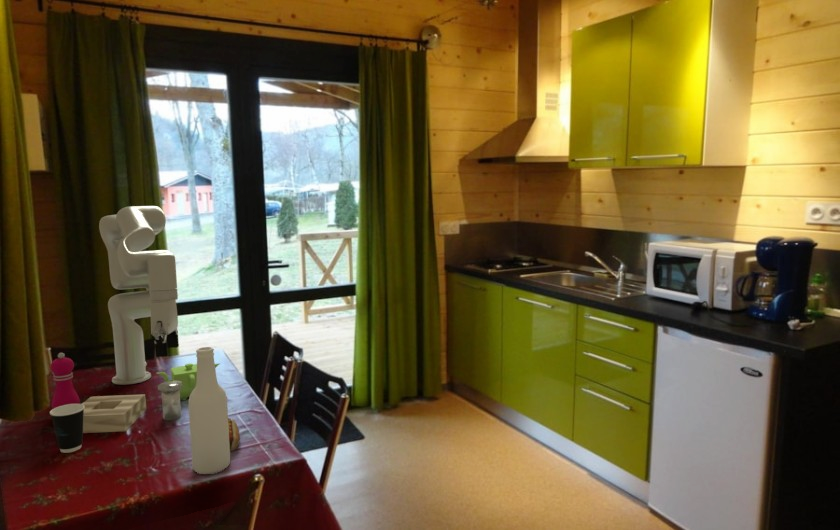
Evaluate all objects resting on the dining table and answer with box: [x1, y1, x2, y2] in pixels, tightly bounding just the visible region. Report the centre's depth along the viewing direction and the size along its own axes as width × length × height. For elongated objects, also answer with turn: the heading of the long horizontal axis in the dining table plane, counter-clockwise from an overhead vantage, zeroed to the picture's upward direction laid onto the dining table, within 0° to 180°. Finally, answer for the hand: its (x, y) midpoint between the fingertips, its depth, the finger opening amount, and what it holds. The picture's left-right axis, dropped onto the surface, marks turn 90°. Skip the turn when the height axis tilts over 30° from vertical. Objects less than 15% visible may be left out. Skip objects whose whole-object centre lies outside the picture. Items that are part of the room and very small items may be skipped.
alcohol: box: [188, 346, 231, 475], centre depth 140 cm, size 9×9×30 cm
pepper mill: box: [50, 352, 81, 409], centre depth 173 cm, size 7×7×20 cm
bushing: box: [157, 381, 183, 421], centre depth 173 cm, size 7×7×10 cm
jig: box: [81, 393, 147, 434], centre depth 170 cm, size 16×16×5 cm
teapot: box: [156, 362, 221, 401], centre depth 192 cm, size 15×13×11 cm
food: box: [228, 417, 241, 452], centre depth 156 cm, size 14×6×5 cm, turn 20°
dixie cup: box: [49, 403, 85, 454], centre depth 152 cm, size 8×8×11 cm
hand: (167, 351), depth 171 cm, fingers open, 9 cm apart
